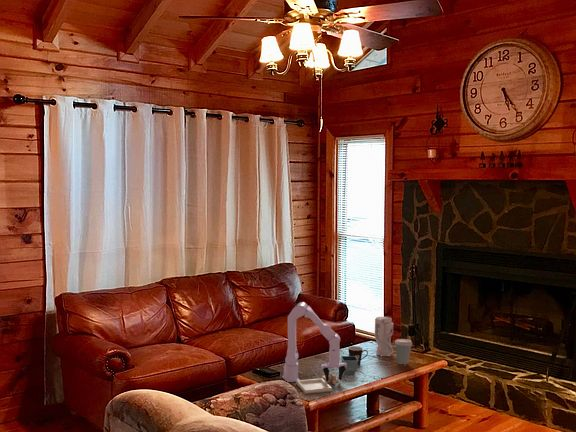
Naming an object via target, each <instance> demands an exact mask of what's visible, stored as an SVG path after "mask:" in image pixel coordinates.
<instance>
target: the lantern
mask: <svg viewBox="0 0 576 432" xmlns="http://www.w3.org/2000/svg"><path fill="white" fill-rule="evenodd" d="M374 319H375V320H374V338H375V341H376V344H377V345H378V346H377V347H376V349H375V352H376V355H377V354H378V355H382V356H387V355H391V354H394V351H395V350H394V349H393V345H392V343H391V342H392V341H391V340H392V336H393V335H394V323H393V318H392V317H388V316H377V317H375V318H374ZM378 355H377V356H378ZM382 356H381V357H382ZM391 356H392V355H391Z"/></svg>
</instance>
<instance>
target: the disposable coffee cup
mask: <svg viewBox="0 0 576 432" xmlns="http://www.w3.org/2000/svg"><path fill="white" fill-rule="evenodd" d="M394 344H395V346H394V347H395V357H396V363H399V364H407V363H408V364H409V360H410V359H409V358H410V355H411V349H412V346H413V342H412V340H410V339H406V338H398V339H395V340H394ZM399 364H398V365H399ZM408 364H407V365H408Z"/></svg>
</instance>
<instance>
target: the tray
mask: <svg viewBox="0 0 576 432" xmlns="http://www.w3.org/2000/svg"><path fill="white" fill-rule="evenodd" d="M296 386H297V387H298V388H299V389H300V390H301V391H302V392H303V393H304V394H305V395H308V394H318V393H330V392H331V393H332V392H333V387H332V386H331V385H330V384H329V383H326V382H325V381H324V380H323V379H322V377H321V378H320V377H319V378H313V379H311V378H310V379H300V380H297V381H296Z"/></svg>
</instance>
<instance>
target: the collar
mask: <svg viewBox="0 0 576 432" xmlns="http://www.w3.org/2000/svg"><path fill="white" fill-rule="evenodd" d="M321 378H322V379H323V380H324V381H325V382H326V383H328V384H329V383H331V384H332V385H336V383H338V382H339V377H337V376H336V374H334V373H332V374H331V379H329V380H328V381H326V377H325V375H322V376H321Z"/></svg>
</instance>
